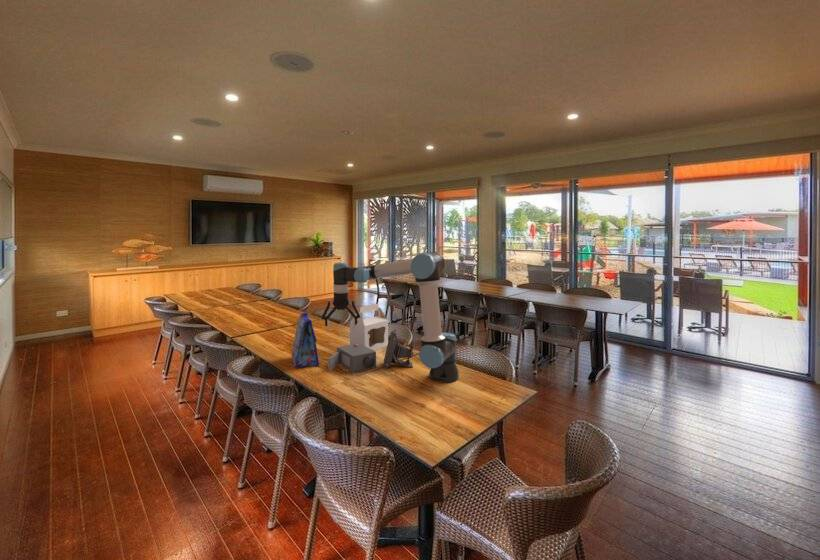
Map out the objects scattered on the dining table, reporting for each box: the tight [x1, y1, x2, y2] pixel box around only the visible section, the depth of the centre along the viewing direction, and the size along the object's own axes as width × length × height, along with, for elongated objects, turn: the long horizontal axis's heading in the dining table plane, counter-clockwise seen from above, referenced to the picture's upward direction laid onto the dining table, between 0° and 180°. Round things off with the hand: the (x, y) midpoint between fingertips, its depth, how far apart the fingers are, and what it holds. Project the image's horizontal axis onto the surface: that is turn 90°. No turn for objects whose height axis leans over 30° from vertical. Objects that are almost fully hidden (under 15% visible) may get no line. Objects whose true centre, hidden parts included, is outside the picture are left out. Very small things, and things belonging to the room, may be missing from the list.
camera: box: [383, 329, 415, 369], centre depth 216 cm, size 11×17×20 cm, turn 90°
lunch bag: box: [291, 311, 320, 369], centre depth 220 cm, size 22×14×29 cm, turn 22°
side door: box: [327, 351, 341, 371], centre depth 210 cm, size 13×2×7 cm, turn 165°
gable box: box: [349, 302, 389, 351], centre depth 248 cm, size 22×13×28 cm, turn 141°
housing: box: [336, 343, 377, 373], centre depth 215 cm, size 22×14×10 cm, turn 35°
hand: (341, 331), depth 207 cm, fingers open, 13 cm apart
